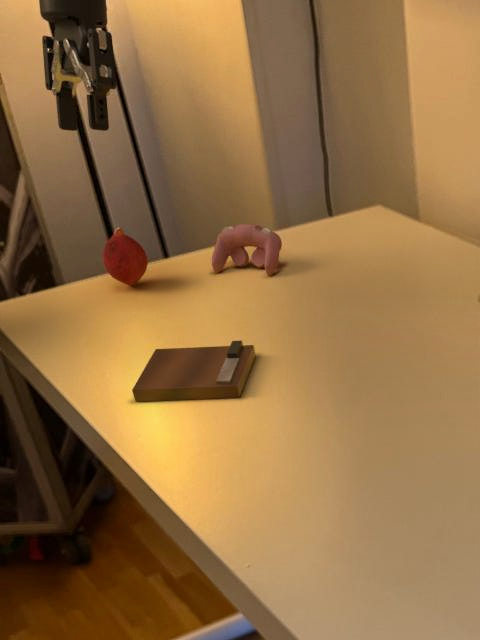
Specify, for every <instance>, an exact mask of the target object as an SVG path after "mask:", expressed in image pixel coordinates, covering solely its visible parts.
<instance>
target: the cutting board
mask: <svg viewBox="0 0 480 640" xmlns="http://www.w3.org/2000/svg"><path fill="white" fill-rule="evenodd" d="M256 357H257V355H256V350H255V345H254V344H244V343H243V340H232V341H231V343H230V344H229V345H222V346H221V345H219V346H217V345H216V346H198V347H196V346H195V347H172V348H170V347H169V348H156V349H155V350H154V351H153V353H152V354H151V356H150V358H149V360H148V362H147V363H146V365H145V367H144V369H143V370H142V372H141V374H140V375H139V378H138V379H137V381H136V382H135V383H134V386H133V388H132V389H131V390H132V394H133V399H134V401H135V403H136V402H161V401H162V402H163V401H164V402H165V401H185V400H187V401H188V400H209V399H210V400H212V399H236V398H240V397H241V395H242V392H243V390H244V387H245V385H246V382H247V380H248V378H249V375H250V372H251V369H252V367H253V365H254V361H255V359H256Z"/></svg>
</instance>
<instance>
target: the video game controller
mask: <svg viewBox="0 0 480 640" xmlns="http://www.w3.org/2000/svg"><path fill="white" fill-rule="evenodd" d="M282 244H283V243H282V238H281V236H280V235H279V234H278V233H276V232H275V231H273V230H271V229H270V228H267V227H264V226H262V225H259V224H252V223H251V224H250V223H239V224H237V225H232V226H228V227H227V226H225V227H223V228H222V231H220V232H219V234H218V236H217V239H216V242H215V245H214V248H213V252H212V256H211V268H212V270H213V271H214V273H215V274H216V273H220V272H221V271H222V270H223V269H224V267H225V266H226V263H227V262H228V259H229V257H230V258H231V261H232V263H233V264H234V265H235V266H239V267H246V266H247V265H248V264H249V261H250V256H249V253H248V252H247V250H246V249H245V248H247V247H253V248H255V250H254V251H253V252H252V254H251V262H252V265H254V266H255V267H257V268H260V269H261V268H263V269H264V270H265V273H266V274H267V276H272V275H274V273H275V272H276V270H277V267H278V265H279V259H280V252H281V250H282Z"/></svg>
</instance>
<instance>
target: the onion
mask: <svg viewBox="0 0 480 640" xmlns="http://www.w3.org/2000/svg"><path fill="white" fill-rule="evenodd" d="M124 232H125V231H124V229H123V228H122V227H116V228H115V230H114V232H113V234H112V236H110V238H108V240H107V241H106V243H105V245H104V247H103V251H102V263H103V265H104V267H105V270H106V271H107V273H108V275H110V276H111V278H113V279H114V280H115V281H117V282H119V283H121V284H124V285H127V286H129V287H136V286H137V285H138V283H139V281H140V280H141V279H142V278H143V276H144V275H145V273H146V272H147V269H148V264H149V261H148V255H147V253H146V251H145V249H144V247H142V245H141V244H140V243H139V242H138V241H136V240H135V239H134V238H132V237H131V236H129V235H127V234H125V233H124Z"/></svg>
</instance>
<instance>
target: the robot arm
mask: <svg viewBox="0 0 480 640" xmlns="http://www.w3.org/2000/svg"><path fill="white" fill-rule="evenodd" d="M38 1H39V2H38V4H39V12H40V13H39V14H40V17H41V18H42V20H44V21H46V22H49V23H52V25H53V26H54V33H53V34H54V36H50V35H42V38H41V44H42V54H43V55H42V56H43V57H42V58H43V70H44V85H45V90H47V91H51V92H52V95H53V96H55V102H56V114H57V125H58V128H59V129H60V130H62V131H70V132H76V131H77V130H78V129H79V126H78V115H77V114H78V113H77V103H76V98H75V96H76V92H77V88H78V87H77V86H78V85H79V84H80V83H83V85H84V88H85V91H86V93H88V94H86V104H87V105H86V106H87V117H88V126H89V128H90V129H91V130H92V131H93V130H94V131H102V132H105V131H108V130H109V128H110V124H109V123H110V122H109V109H108V99H107V98H108V96H110V94H111V90H116V89H117V75H116V65H115V64H116V63H115V54H114V44H113V35H112V33H111V32H110V31H105V30H102V29H104V28H105V27H107V25H108V11H107V8H108V7H107V0H38Z"/></svg>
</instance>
